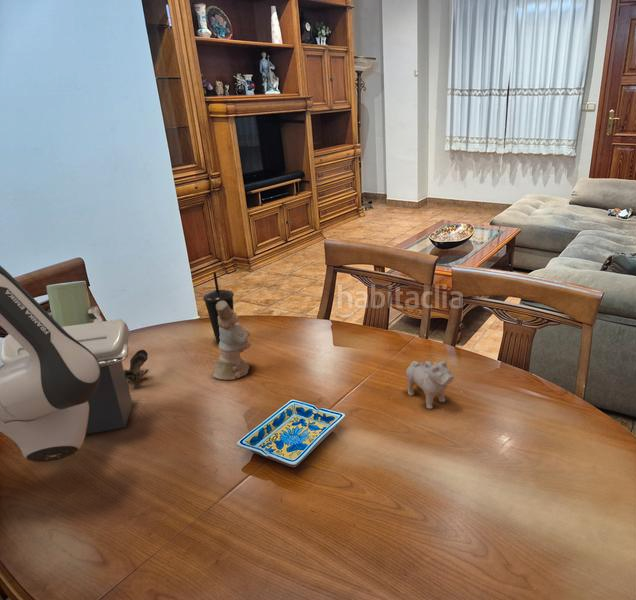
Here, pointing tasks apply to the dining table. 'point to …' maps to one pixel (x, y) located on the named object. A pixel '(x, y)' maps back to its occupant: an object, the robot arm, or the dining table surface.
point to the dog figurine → (429, 379)
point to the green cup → (69, 303)
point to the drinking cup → (211, 302)
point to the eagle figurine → (137, 367)
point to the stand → (109, 401)
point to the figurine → (230, 344)
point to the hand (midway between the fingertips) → (72, 311)
